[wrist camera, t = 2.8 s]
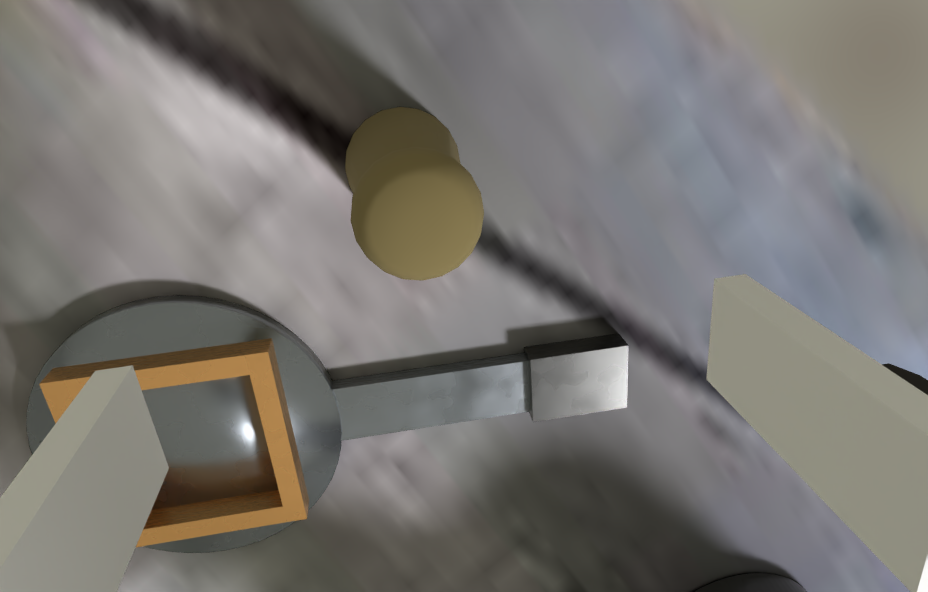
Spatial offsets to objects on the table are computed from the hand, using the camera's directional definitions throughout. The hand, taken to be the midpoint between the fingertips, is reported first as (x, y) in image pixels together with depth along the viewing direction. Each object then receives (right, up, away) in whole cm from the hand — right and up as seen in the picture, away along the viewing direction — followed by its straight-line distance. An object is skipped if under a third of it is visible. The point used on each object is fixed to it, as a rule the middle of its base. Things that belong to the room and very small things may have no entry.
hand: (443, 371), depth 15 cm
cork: (-3, +9, +19) cm, 21 cm away
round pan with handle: (-7, -5, +24) cm, 25 cm away
